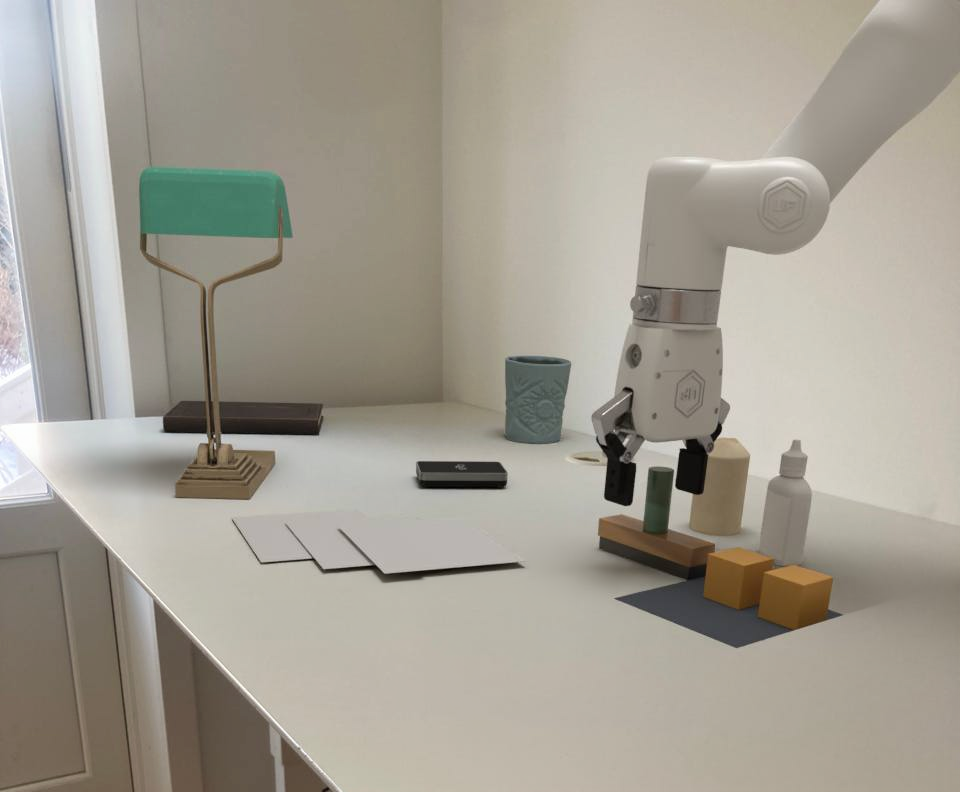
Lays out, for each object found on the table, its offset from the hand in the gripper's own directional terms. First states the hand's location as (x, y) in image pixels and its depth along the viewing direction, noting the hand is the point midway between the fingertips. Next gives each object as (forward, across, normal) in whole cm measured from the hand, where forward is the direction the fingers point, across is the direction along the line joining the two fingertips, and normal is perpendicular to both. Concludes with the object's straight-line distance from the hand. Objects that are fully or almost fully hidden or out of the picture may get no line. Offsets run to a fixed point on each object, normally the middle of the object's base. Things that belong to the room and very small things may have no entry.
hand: (654, 497), depth 98 cm
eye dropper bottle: (+6, +12, -6) cm, 15 cm away
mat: (+6, -4, -15) cm, 17 cm away
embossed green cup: (+7, +32, +56) cm, 65 cm away
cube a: (+6, -2, -18) cm, 19 cm away
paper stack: (+7, -20, +20) cm, 29 cm away
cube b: (+6, -2, -12) cm, 14 cm away
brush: (+6, 0, 0) cm, 7 cm away
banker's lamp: (+8, -20, +53) cm, 57 cm away
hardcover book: (+8, -2, +86) cm, 86 cm away
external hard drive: (+7, +4, +37) cm, 38 cm away
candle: (+7, +15, +5) cm, 17 cm away
